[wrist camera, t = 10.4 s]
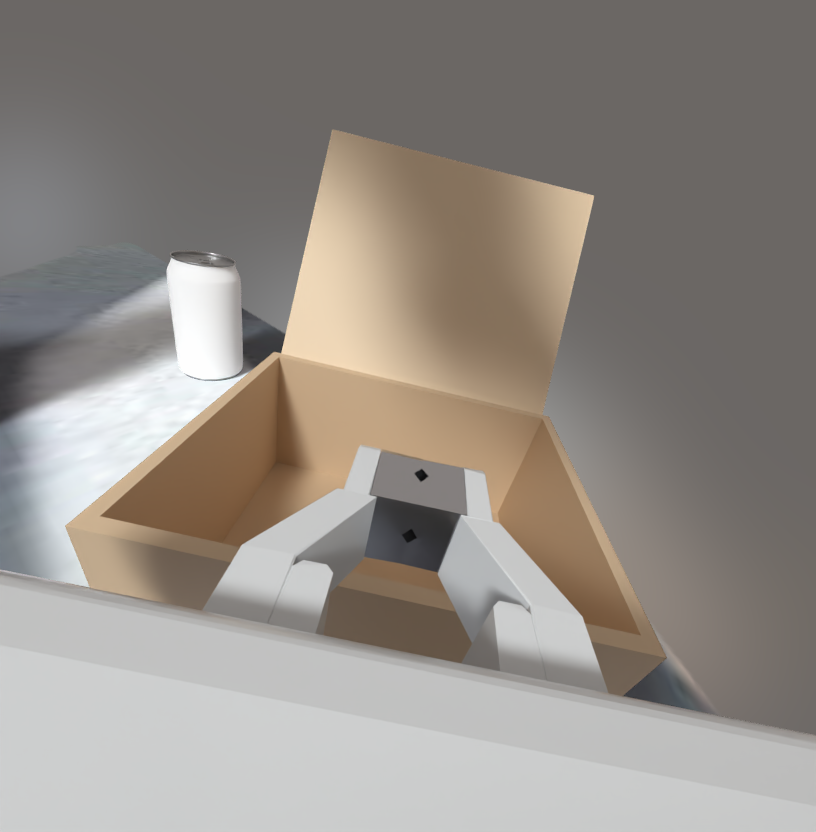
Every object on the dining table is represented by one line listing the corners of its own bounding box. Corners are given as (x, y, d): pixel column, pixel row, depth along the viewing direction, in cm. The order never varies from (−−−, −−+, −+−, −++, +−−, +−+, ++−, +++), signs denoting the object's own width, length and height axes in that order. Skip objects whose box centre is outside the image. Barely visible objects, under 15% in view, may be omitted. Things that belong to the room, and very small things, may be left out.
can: (233, 354, 45) (229, 252, 39) (251, 378, 41) (249, 268, 35) (173, 359, 41) (157, 246, 35) (186, 385, 37) (171, 263, 31)
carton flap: (594, 195, 25) (591, 199, 26) (332, 129, 25) (333, 133, 25) (542, 415, 26) (539, 415, 26) (281, 353, 25) (283, 354, 26)
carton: (545, 762, 17) (667, 658, 12) (125, 674, 16) (65, 525, 11) (501, 513, 31) (548, 416, 26) (271, 461, 30) (274, 351, 25)
